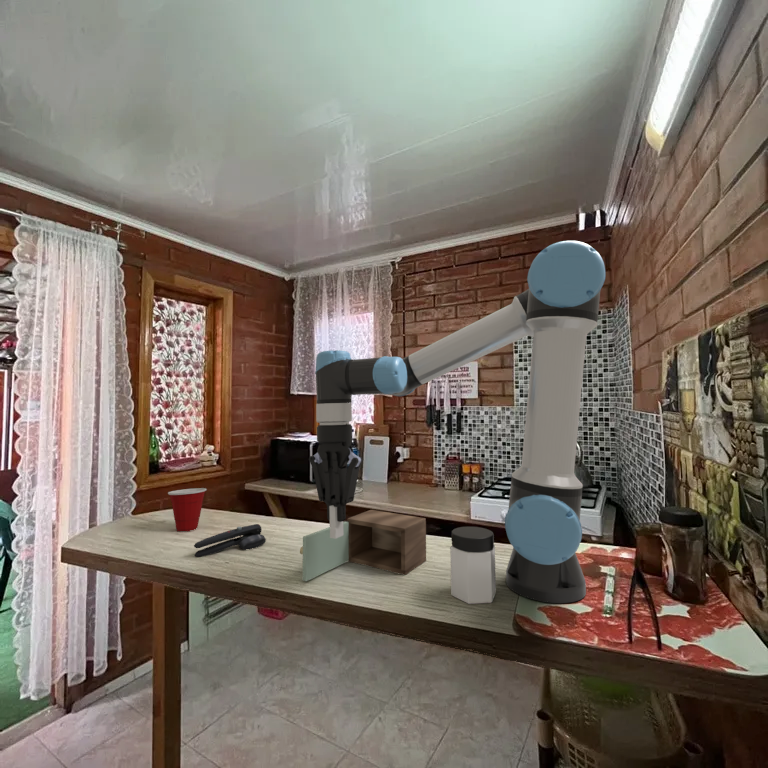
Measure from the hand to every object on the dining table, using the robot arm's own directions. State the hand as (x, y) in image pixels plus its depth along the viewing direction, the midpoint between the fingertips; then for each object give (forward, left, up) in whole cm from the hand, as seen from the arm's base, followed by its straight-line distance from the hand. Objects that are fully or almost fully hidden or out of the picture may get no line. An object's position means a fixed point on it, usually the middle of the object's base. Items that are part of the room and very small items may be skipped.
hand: (336, 536), depth 87 cm
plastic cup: (+64, -6, -10) cm, 65 cm away
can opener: (+37, -2, -10) cm, 39 cm away
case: (-2, -16, -10) cm, 19 cm away
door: (+7, -4, -9) cm, 12 cm away
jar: (-26, -10, -10) cm, 30 cm away
